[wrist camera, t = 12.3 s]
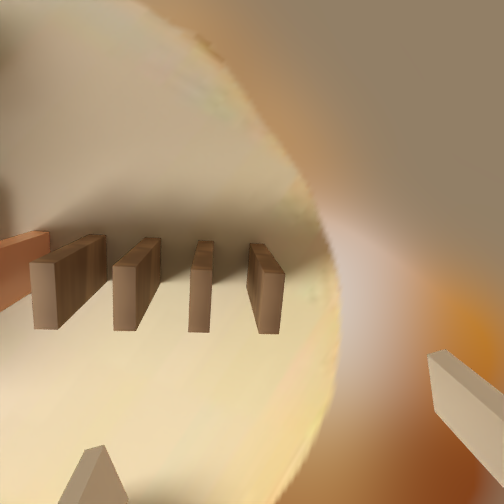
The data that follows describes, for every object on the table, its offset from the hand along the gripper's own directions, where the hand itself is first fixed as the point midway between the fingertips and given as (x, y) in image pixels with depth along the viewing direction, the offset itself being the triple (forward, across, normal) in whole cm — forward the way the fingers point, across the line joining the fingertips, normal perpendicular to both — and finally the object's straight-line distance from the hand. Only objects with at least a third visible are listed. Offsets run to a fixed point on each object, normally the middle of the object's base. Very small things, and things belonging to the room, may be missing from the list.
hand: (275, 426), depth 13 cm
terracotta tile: (+23, -19, +7) cm, 31 cm away
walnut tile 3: (+23, -9, +3) cm, 25 cm away
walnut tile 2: (+23, -4, +2) cm, 24 cm away
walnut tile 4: (+23, -14, +5) cm, 27 cm away
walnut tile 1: (+23, +1, 0) cm, 23 cm away
